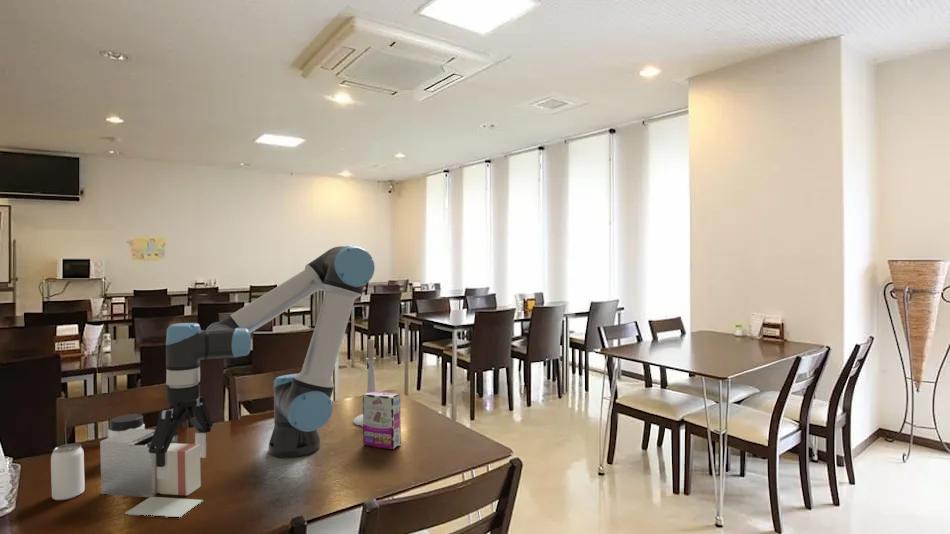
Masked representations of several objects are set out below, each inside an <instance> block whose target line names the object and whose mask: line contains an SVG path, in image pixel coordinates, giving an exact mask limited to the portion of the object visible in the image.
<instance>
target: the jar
mask: <svg viewBox="0 0 950 534" xmlns="http://www.w3.org/2000/svg"><path fill="white" fill-rule="evenodd" d="M145 426H146V425H145V423H144V416H143V415H142V414H140V413H130V414H129V413H128V414H122V415H118V416H114V417H112V418H111V419H110V420H109V429H108V430H107V436H108V437H107V438H109V437H111V436H114V435H116V434H118V433H121V432H123V431H125V430H128V429H146V427H145Z"/></svg>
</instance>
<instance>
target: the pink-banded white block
mask: <svg viewBox="0 0 950 534" xmlns="http://www.w3.org/2000/svg"><path fill="white" fill-rule="evenodd" d="M145 446H147V444H146V445H145ZM163 447H164V446H163ZM155 448H156V447H155ZM167 451H168V452H170V478H169V479H168V480H166V479H157V466H156V453H155V494H157V493H160V495H174V496H189V495H190V494H192V493H193V492H195V491H196V490H198V489H199V488H201V486H202V484H201V483H202V481H201V458H200V445H198V444H195V443H179V442H178V443H170V446H169V448H168V450H167Z"/></svg>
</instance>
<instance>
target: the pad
mask: <svg viewBox="0 0 950 534" xmlns="http://www.w3.org/2000/svg"><path fill="white" fill-rule="evenodd" d="M201 502H202V503H204V499H197V498H195V499H194V498H191V499H190V498H177V497H166V496H165V497H162V496H160V497H159V496H154V497H147V498H146V499H145V500H143V501H141V502H140V503H139V504H137V505H135V506H134V507H132V508H130V509H129V510H127V511H125V512H124V515H125V514H126V515H127V514H128V516H140V515H144V516H143V517H149V516H148V515H151V516H150V517H154V516H165V517H164V518H168V517H179V518H178V519H181V518H183V517H184V516H185V515H187V514H188V513H189V512H188V511H190V510H191V509H192V508H194V507H195V506H196V507H198V506H199V505H201V504H202V503H201ZM198 504H199V505H198ZM197 505H198V506H197ZM196 507H195V508H196ZM195 508H194V509H195ZM192 510H193V509H192ZM192 510H191V511H192ZM191 511H190V512H191ZM187 512H188V513H187ZM186 513H187V514H186ZM184 514H185V515H184ZM146 515H147V516H146ZM152 515H153V516H152ZM183 515H184V516H183ZM182 516H183V517H182ZM180 517H181V518H180Z"/></svg>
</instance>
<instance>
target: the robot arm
mask: <svg viewBox="0 0 950 534" xmlns="http://www.w3.org/2000/svg"><path fill="white" fill-rule="evenodd" d="M375 266H376V265H375V261H374V259H373V257H372V255H371V254H370V253H369V251H367V249H364V248H362V247H360V246H355V245H346V246H345V245H344V246H334V247H332V248H330V249H328V250H327V251H324V253H322V254H320V256H318V257H316V258H315V259H313V260H312V261H311V262H309V263H307V264H305V267H304V269H303V270H302V271H301V272H298V273H297V274H295V275H294V276H292V277H290V278H289V279H287V280H286V281H284V282H283V283H281V284H278V286H276V287H275V288H273V289H271V290H269V291H268V292H266V293H264V294H263V295H261V296H259V297H257V299H254V300H253V301H251V302H249V303H248V304H247V305H244V306H243V307H241V308H239V309H237V310H236V311H235V312H233V313H232V314H230V315H228V316H227V317H225V318H223V319H221V320H220V321H217V322H213V323H211V324H210V325H209V326H207V328H206V330H205V329H202V328H201V326H200V324H199V323H197V322H179V323H172V324H170V325H169V326H168V327H167V328H166V338H165V370H166V371H165V372H166V375H165V376H166V380H165V383H166V385H167V386H166V387H165V401H166V402H167V403H168V404H169V408H168V409H166V410H164V409H161V410H159V412H158V420H157V423H156V426H155V429H154V430H155V432H154V435H153V439H152V442H151V445H150V448H149V453H156V466H157V479H166V480H168V479H169V478H170V452H168V451H167V450H168V448H169V446H170V443H171V441H172V439H173V437H174V435H175V433H176V431H178V429H179V427H180V426H182V424H183V423H186V421H189V422H190V423H191V425H192V426H193V427H194V429H195V430H196V431H197V432H194V444H198V445H200V459H204V458H205V459H206V458H207V438H208V437H207V436H208V435H207V433H210V432H211V431H212V427H213V426H214V425H213V421H212V419H211V415H210V414H209V411H208V410H209V409H207V408H208V407H207V405H206V399H205V396H201V384H199V383H200V382H201V360H202V361H203V360H213V359H226V358H227V359H228V358H238V357H244V356H245V357H246V356H248V355H249V354H250V352H251V348H252V338H251V333H253V332H255V331H256V330H257V329H258V330H259V328H261V327H262V326H264V325H266V324H267V323H269V322H271V321H272V320H273V319H275V318H277V317H278V316H280V315H281V314H282V313H284V312H286V311H288V310H289V309H290V308H292V307H294V306H296V305H297V304H299V303H300V302H302V301H304V300H305V299H306V298H308V297H310V296H311V295H313V294H314V293H316V292H318V291H325V295H324V297H323V301H322V304H321V307H320V309H319V314H318V318H317V319H316V323H315V326H314V329H313V332H312V336H311V339H310V343H309V346H308V348H307V352H306V356H305V358H304V362H303V364H302V369H301V371H300V372H299V373H290V374H285V375H284V374H283V375H280V376H277V377H275V379H274V380H273V387H272V389H273V411H274V412H273V414H274V427H273V431H272V433H271V436H270V439H269V443H268V454H269V455H271V456H272V457H275V458H281V459H282V458H283V459H284V458H285V459H289V458H297V457H303V456H307V455H310V454H312V452H313V453H315V452H317V451H318V450H319V449H320V448H321V437H320V434H319V431H318V430H319V429H321V428H322V427H323V426H325V425H326V424H327V423H328V421H330V418H331V416H332V413H333V401H332V399H331V398H332V395H333V392H334V388H335V384H334V382H333V381H332V376H333V373H334V370H335V367H336V363H337V359H338V356H339V353H340V349H341V348H342V347H341V346H342V343H343V341H344V336H345V334H346V330H347V326H348V323H349V320H350V318H351V313H352V310H353V307H354V303H355V300H356V299H358V298H360V297H361V296H362V295H363V291H364V289H365V285H367V284H368V283H369V282H370V281H371V280H372V278H373V277H374V273H375V268H376V267H375ZM163 446H164V447H163ZM155 447H156V448H155ZM319 447H320V448H319ZM318 448H319V449H318ZM317 449H318V450H317ZM314 451H315V452H314ZM309 453H310V454H309Z"/></svg>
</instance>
